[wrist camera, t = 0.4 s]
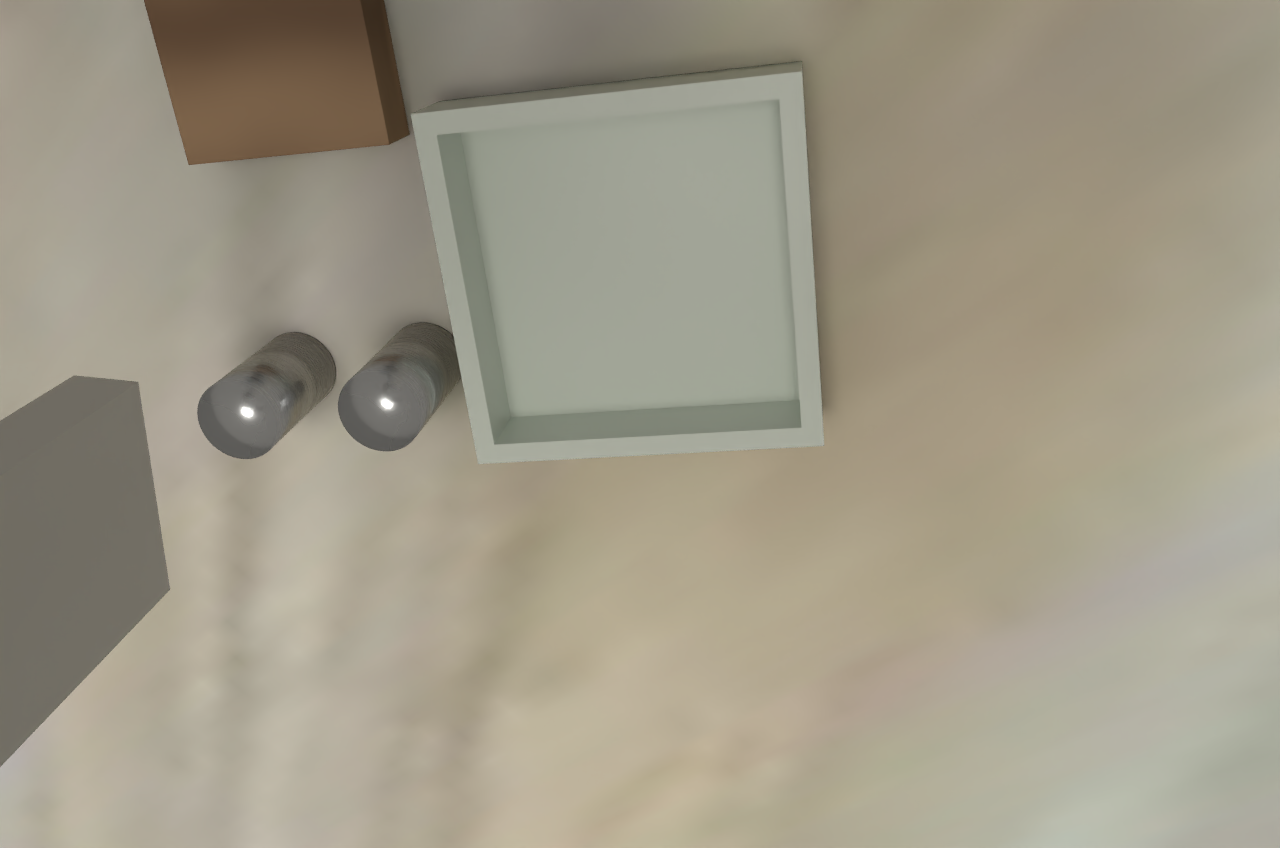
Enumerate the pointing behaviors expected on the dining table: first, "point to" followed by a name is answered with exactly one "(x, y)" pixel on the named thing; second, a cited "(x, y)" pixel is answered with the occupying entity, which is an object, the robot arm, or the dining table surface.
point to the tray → (629, 264)
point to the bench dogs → (305, 373)
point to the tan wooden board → (278, 76)
